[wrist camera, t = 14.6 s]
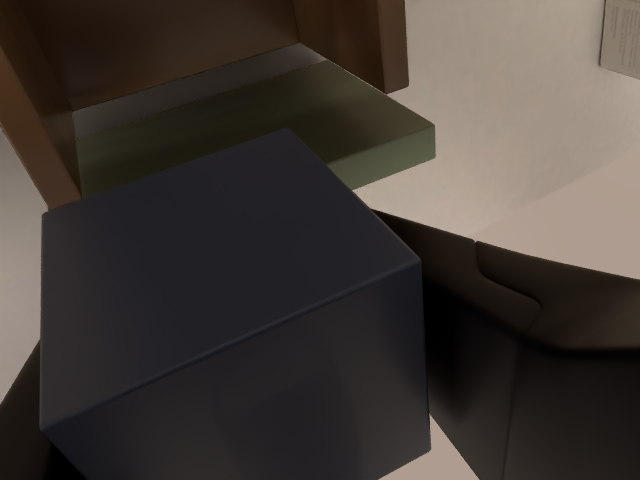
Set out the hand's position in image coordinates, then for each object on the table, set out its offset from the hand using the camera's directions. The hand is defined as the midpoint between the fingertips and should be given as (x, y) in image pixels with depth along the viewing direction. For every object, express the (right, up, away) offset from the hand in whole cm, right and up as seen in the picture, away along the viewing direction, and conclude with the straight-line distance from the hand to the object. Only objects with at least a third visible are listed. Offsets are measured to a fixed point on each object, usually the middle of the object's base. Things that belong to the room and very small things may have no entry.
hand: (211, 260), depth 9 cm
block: (0, 0, 0) cm, 0 cm away
